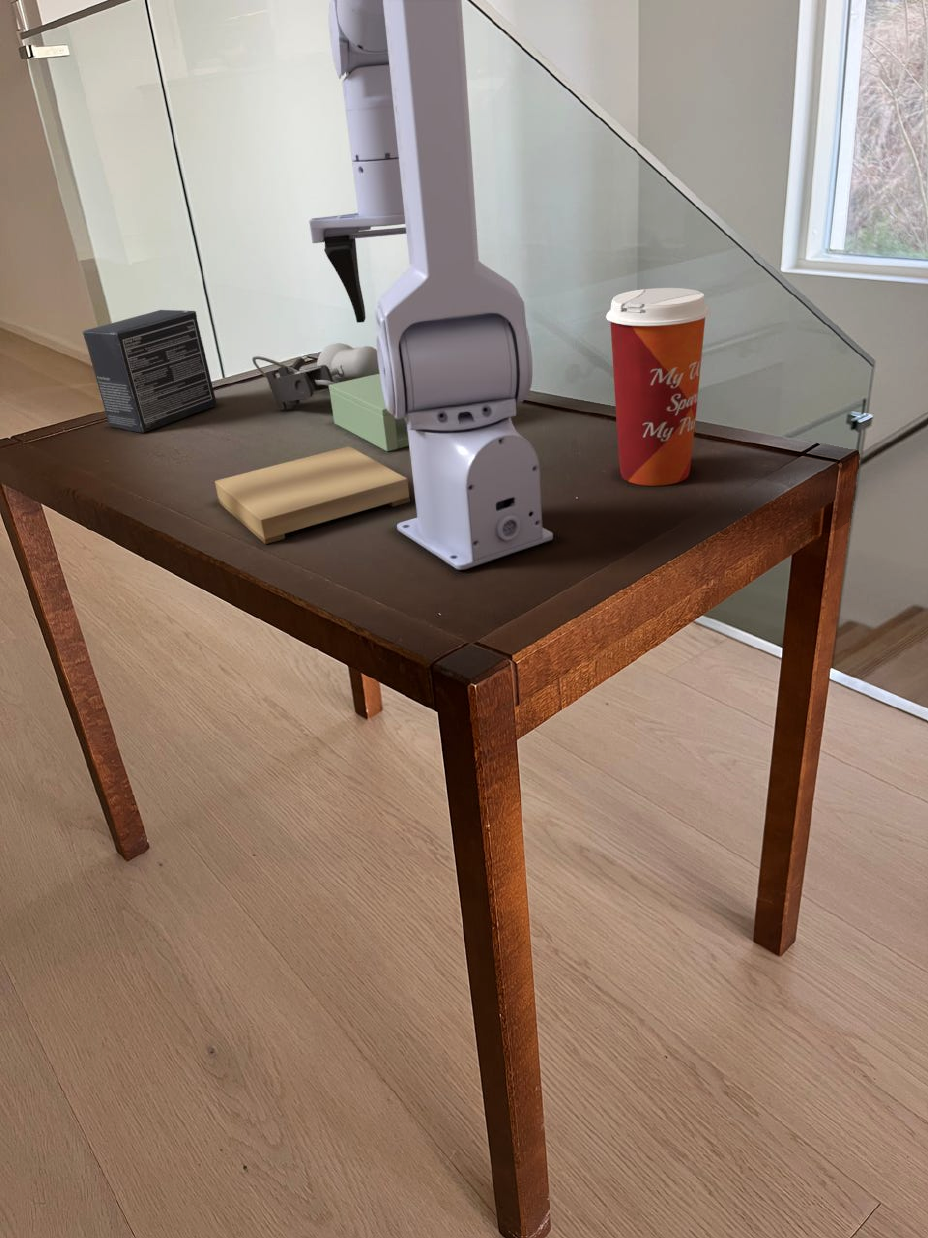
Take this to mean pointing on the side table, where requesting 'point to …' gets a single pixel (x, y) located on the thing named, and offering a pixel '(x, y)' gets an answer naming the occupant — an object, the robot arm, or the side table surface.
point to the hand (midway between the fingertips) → (401, 316)
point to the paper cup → (656, 380)
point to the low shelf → (309, 492)
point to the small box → (151, 369)
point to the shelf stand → (367, 413)
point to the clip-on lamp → (319, 372)
